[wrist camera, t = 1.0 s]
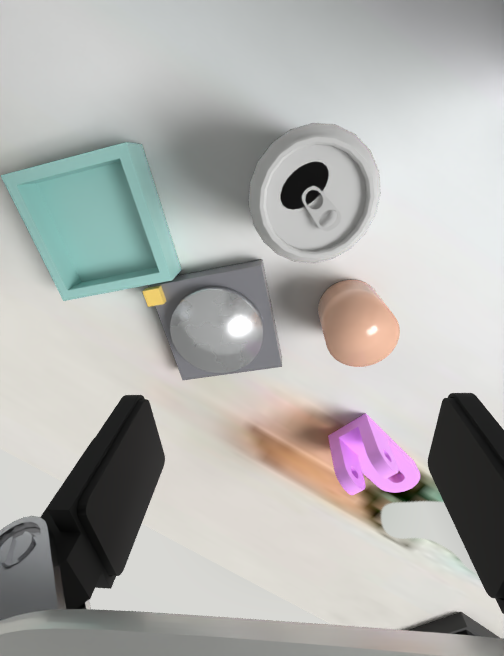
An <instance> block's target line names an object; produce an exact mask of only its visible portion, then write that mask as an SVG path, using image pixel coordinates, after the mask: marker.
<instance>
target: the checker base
mask: <svg viewBox="0 0 504 656" xmlns="http://www.w3.org/2000/svg"><path fill="white" fill-rule="evenodd" d="M206 286H223V287H228V288H231V289H234V290H236V291H238V292H240V293H242V294H243V295H245V296H246V297H247V298H248V299H249V300H251V301H252V303H253V304H254V305H255V306H256V308H257V309H258V311H259V313H260V315H261V318H262V322H263V339H262V344H261V348H260V350H259V352H258V354H257V355H256V357H255V358H254V359H253V360H252V361H251V362H250V363H249V364H248V365H246V366H244V367H243V368H241V369H238V370H236V371H232V372H227V373H214V372H209V371H205V370H202V369H199V368H197V367H195V366H193V365H192V364H190V363H189V362H188V361H186V360H185V359H184V358H183V357H182V356H181V355H180V354H179V352H178V351H177V349H176V348H175V346H174V344H173V341H172V338H171V333H170V323H171V318H172V315H173V313H174V311H175V309H176V308H177V306H178V305H179V303H180V302H181V300H182V299H183V298H184V297H185V296H187V295H188V294H189V293H191V292H192V291H194V290H196V289H199V288H202V287H206ZM142 292H143V294H144V297H145V300H146V302H147V305H148V307H150V306H155V307H156V310H157V312H158V315H159V318H160V321H161V323H162V326H163V329H164V331H165V334H166V337H167V339H168V342H169V345H170V347H171V350H172V353H173V355H174V358H175V361H176V364H177V366H178V369H179V372H180V374H181V377H182V380H189V379H196V378H203V377H210V376H218V375H225V374H232V373H239V372H247V371H254V370H261V369H268V368H276V367H282V355H281V350H280V345H279V340H278V335H277V330H276V325H275V320H274V315H273V310H272V305H271V300H270V295H269V290H268V285H267V280H266V275H265V270H264V265H263V260H257V261H252V262H247V263H241V264H236V265H231V266H226V267H221V268H215V269H210V270H205V271H200V272H194V273H189V274H184V275H179V276H176V277H175V278H174V279H173V280H171V281H166V282H161V283H156V284H150V285H149V286H148V288H145V289H144V290H143V291H142Z"/></svg>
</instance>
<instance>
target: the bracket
mask: <svg viewBox="0 0 504 656" xmlns="http://www.w3.org/2000/svg"><path fill="white" fill-rule="evenodd" d="M328 438H329V444H330V449H331V454H332V460H333V465H334V470H335V474H336V476H337V479H338V481H339V482H340V484H341V486H342V487H343V488H344V490H345V491H346V492H347V493H349V494H350V495H354V494H356V493H358V492H360V491H362V490H364V489H365V481H364V477H363V474H364V475H365V476H366V477H368V478H369V479H370V480H371V481H372V482H373V483H374V484H375V485H376V486H378V487H379V488H380V489H382V490H384V491H387V492H403V491H406V490H409V489H411V488H413V487H414V486H415V485H416V484H417V483H418V482H419V480H420V472H419V470H418V468H417V466H416V464H415V462H414V461H413V460H412V459H411V458H410V457H409V456H408V455H407V454H406V453H405V452H404V451H403V450H402V449H401V448H400V447H399V446H398V445H397V444H396V443H395V442H394V441H393V440H392V439H391V438H390V437H389V436H388V435H387V434H386V433H385V432H384V431H383V430H382V429H381V428H380V427H379V426H378V425H377V424H376V423H375V422H374V421H373V420H372V419H371V418H370V417H369V416H368V415H367V414H366V413H365V414H364V415H362V416H360V417H359V418H357V419H355V420H353V421H352V422H350V423H348V424H347V425H345V426H343V427H342V428H340V429H338V430H337V431H335V432H333V433H332V434H330V435H328ZM399 471H400V473H398V472H399ZM362 473H363V474H362ZM397 473H398V474H397Z"/></svg>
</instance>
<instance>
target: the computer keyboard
mask: <svg viewBox="0 0 504 656" xmlns="http://www.w3.org/2000/svg"><path fill="white" fill-rule="evenodd" d="M407 631H420V632H433V633H446V634H459V635H470V636H481V637H491V638H499V637H498V636H496V635H495V634H493V633H492V632H490V631H489V630H487V629H486V628H484V627H483V626H481V625H480V624H479V623H477V622H476V621H474V620H473V619H471V618H470V617H468V616H467V615H465V614H464V613H462V612H460V613H457V614H454V615H451V616H448V617H445V618H442V619H439V620H436V621H433V622H430V623H428V624H425V625H422V626H419V627H416V628H413V629H410V630H407Z"/></svg>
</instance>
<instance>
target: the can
mask: <svg viewBox="0 0 504 656" xmlns="http://www.w3.org/2000/svg"><path fill="white" fill-rule="evenodd" d="M380 194H381V192H380V178H379V170H378V167H377V165H376V163H375V160H374V158H373V155H372V153H371V151H370V149H369V148H368V147H367V146H366V145H365V144H364V143H363V142H362V141H361V140H360V139H359V138H358V137H357V135H356V134H354V133H352V132H350V131H348V130H346V129H344V128H341V127H339V126H337V125H335V124H320V123H311V124H308V125H304V126H301V127H298V128H294V129H291V130H289V131H288V132H287V133H285V134H284V135H282V136H281V137H280V138H278V139H277V140H275V141H274V142H273V143H271V145H270V146H269V147H268V149H267V150H266V151H265V153H264V154H263V155H262V157H261V158H260V160H259V161H258V162H257V165H256V168H255V171H254V173H253V176H252V179H251V182H250V191H249V209H250V213H251V217H252V221H253V225H254V227H255V229H256V230H257V232H258V234H259V235H260V237H261V239H262V240H263V242H264V243H265V244H266V245H268V246H269V247H270V248H271V249H272V250H273V251H274V252H276V253H277V254H278V255H280V256H283V257H285V258H288V259H290V260H292V261H295V262H305V263H317V262H321V261H326V260H330V259H333V258H335V257H337V256H339V255H341V254H342V253H344V252H346V251H348V250H349V249H351V248H352V247H353V246H354V245H355V244H356V243H357V242H358V241H359V240H360V239H361V238H362V237H363V236H364V235H365V233H366V232H367V230H368V228H369V226H370V224H371V223H372V221H373V219H374V217H375V215H376V211H377V207H378V203H379V198H380Z"/></svg>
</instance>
